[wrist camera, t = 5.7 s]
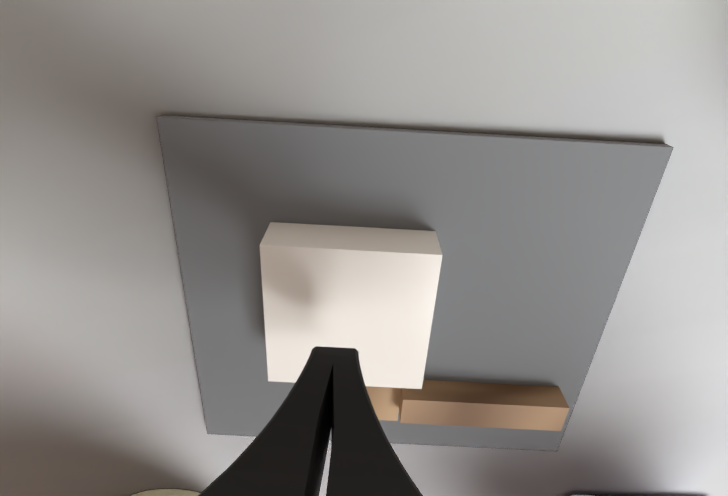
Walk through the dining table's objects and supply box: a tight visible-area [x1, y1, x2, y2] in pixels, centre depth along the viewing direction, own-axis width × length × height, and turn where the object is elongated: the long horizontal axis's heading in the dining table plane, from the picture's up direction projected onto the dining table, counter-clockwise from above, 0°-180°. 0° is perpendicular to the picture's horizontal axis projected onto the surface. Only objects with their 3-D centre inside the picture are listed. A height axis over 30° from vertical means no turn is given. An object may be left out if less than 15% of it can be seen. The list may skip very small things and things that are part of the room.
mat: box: [157, 115, 673, 451], centre depth 18 cm, size 15×17×1 cm
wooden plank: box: [366, 380, 569, 431], centre depth 20 cm, size 11×3×1 cm, turn 87°
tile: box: [260, 222, 442, 389], centre depth 17 cm, size 6×2×6 cm
